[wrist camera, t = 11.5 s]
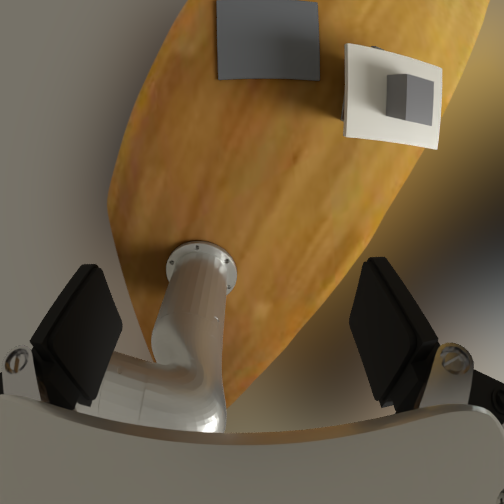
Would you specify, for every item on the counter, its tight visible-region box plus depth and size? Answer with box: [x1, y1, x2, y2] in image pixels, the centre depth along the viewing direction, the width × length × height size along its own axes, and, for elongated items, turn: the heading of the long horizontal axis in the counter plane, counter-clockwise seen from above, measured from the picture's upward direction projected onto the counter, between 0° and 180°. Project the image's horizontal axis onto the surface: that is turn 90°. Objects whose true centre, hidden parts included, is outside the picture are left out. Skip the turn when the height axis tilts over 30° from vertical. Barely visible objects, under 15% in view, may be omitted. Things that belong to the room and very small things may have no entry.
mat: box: [217, 0, 320, 81], centre depth 30 cm, size 13×14×1 cm
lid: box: [343, 43, 442, 150], centre depth 23 cm, size 11×13×6 cm
